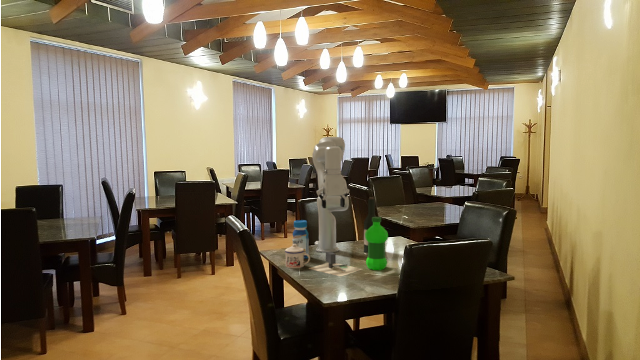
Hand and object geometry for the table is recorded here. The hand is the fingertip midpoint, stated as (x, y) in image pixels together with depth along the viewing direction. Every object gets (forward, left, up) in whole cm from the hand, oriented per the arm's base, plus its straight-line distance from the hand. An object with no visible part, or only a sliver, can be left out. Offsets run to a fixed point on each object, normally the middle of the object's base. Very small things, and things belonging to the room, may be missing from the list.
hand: (333, 207), depth 225 cm
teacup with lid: (-8, -17, -28) cm, 34 cm away
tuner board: (+9, -9, -28) cm, 31 cm away
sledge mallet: (+8, -6, -27) cm, 29 cm away
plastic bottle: (+23, +5, -28) cm, 37 cm away
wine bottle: (-2, +34, -28) cm, 44 cm away
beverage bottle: (-19, -4, -28) cm, 34 cm away
